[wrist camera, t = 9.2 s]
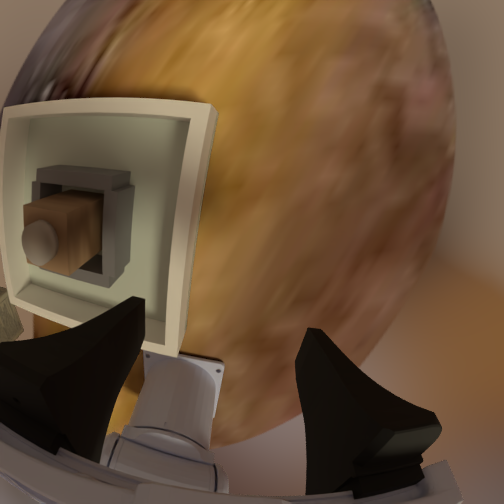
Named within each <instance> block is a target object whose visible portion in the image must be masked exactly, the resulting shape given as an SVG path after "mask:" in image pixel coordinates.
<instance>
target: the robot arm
mask: <svg viewBox="0 0 504 504" xmlns="http://www.w3.org/2000/svg"><path fill="white" fill-rule="evenodd" d="M144 338H145V299H144V298H140V297H136V296H131V297H130V298H128V299H126V300H124V301H123V302H121V303H119V304H118V305H116V306H114V307H113V308H111V309H109V310H107V311H106V312H104V313H102V314H100V315H98V316H96V317H95V318H93V319H91V320H89V321H87V322H85V323H83V324H80V325H78V326H76V327H73V328H71V329H68V330H65V331H62V332H59V333H55V334H52V335H48V336H45V337H40V338H35V339H29V340H22V341H7V342H1V343H0V476H1V477H2V478H4V479H5V480H6V481H8V482H9V483H10V484H12V485H13V486H15V487H16V488H17V489H19V490H20V491H22V492H23V493H25V494H26V495H28V496H29V497H31V498H33V499H34V500H36V501H37V502H39V503H41V504H460V503H462V502H463V500H464V499H463V497H462V494H461V492H460V490H459V487H458V485H457V482H456V480H455V478H454V475H453V473H452V471H451V469H450V466H449V464H448V462H447V460H443V461H441V462H437V463H435V464H432V465H429V466H427V467H425V468H423V469H421V466H420V464H421V463H422V462H423V458H422V456H421V454H422V453H423V452H424V451H425V450H426V449H428V448H429V447H430V446H431V445H432V444H433V443H434V442H435V441H436V439H437V438H438V437H439V435H440V434H441V431H442V426H441V424H440V422H439V420H438V419H437V417H436V415H435V413H434V412H432V411H429V410H426V409H424V408H421V407H418V406H416V405H413V404H411V403H409V402H407V401H405V400H403V399H401V398H400V397H397V396H395V395H394V394H392V393H391V392H389V391H388V390H386V389H385V388H383V387H382V386H380V385H379V384H377V383H376V382H375V381H373V380H372V379H371V378H370V377H368V376H367V375H366V374H365V373H363V372H362V371H361V370H360V369H359V368H358V367H357V366H356V365H355V364H354V363H353V362H352V361H351V360H350V359H349V358H348V357H347V356H346V355H345V354H344V353H343V352H342V351H341V350H340V349H339V348H338V347H337V346H336V345H335V344H334V343H333V341H332V340H331V339H330V338H329V337H328V336H327V335H326V334H325V333H324V332H323V331H322V330H321V329H316V328H307V331H306V334H305V337H304V339H303V342H302V344H301V347H300V350H299V352H298V355H297V357H296V360H295V372H296V382H297V388H298V393H299V398H300V402H301V407H302V412H303V417H304V423H305V433H306V455H307V470H306V493H305V494H306V495H305V496H256V495H238V494H228V491H229V484H228V476H227V474H226V472H225V471H224V469H223V467H222V466H221V465H220V464H216V463H214V452H211V451H209V445H210V436H211V427H212V419H213V418H214V417H215V412H216V407H217V402H218V397H219V392H220V387H221V382H222V377H223V372H224V366H225V365H224V363H223V362H220V361H214V360H209V359H203V358H198V357H193V356H188V355H183V354H178V356H177V358H176V357H172V356H167V355H163V354H159V353H154V352H150V351H146V350H143V359H144V375H145V382H144V384H143V387H142V389H141V392H140V394H139V397H138V400H137V402H136V405H135V408H134V410H133V413H132V416H131V419H130V421H129V424H128V425H125V426H124V429H123V432H122V434H121V437H120V434H119V433H117V432H112V433H111V434H108V435H106V432H107V428H108V425H109V421H110V418H111V415H112V411H113V408H114V405H115V403H116V400H117V397H118V394H119V392H120V390H121V388H122V386H123V384H124V382H125V380H126V378H127V376H128V374H129V372H130V370H131V368H132V366H133V364H134V362H135V360H136V358H137V356H138V354H139V352H140V349H141V347H142V344H143V341H144ZM147 354H148V355H147ZM149 355H150V356H149ZM217 369H220V370H217Z"/></svg>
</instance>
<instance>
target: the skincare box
mask: <svg viewBox="0 0 504 504" xmlns="http://www.w3.org/2000/svg"><path fill="white" fill-rule="evenodd" d="M23 331H24V329H23V327H22V324H21V321H20V319H19V316H18V313H17V311H16V308H15V305H13V304H11V303H10V300H9V296H8V291H7V289H6V288H3V287H0V343H1V342H7V341H15V340H16V339H17V338H18V337H19V335H20V334H21V333H22V332H23Z"/></svg>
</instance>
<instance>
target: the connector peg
mask: <svg viewBox="0 0 504 504" xmlns="http://www.w3.org/2000/svg"><path fill="white" fill-rule="evenodd" d="M103 206H104V194H102V193H95V192H88V191H81V190H74V189H70V190H67V191H63V192H60V193H57V194H54V195H51V196H48V197H45V198H42V199H39V200H36V201H33V202H30V203H28V204H25V205H23V220H24V230H23V232H22V247H23V250H24V253H25V255H26V259H27V263H29V264H32V265H35V266H38V267H41V268H44V269H47V270H51V271H54V272H57V273H60V274H64V275H67V276H70V275H71V274H72V273H73V272H75V271H76V270H77V269H78V268H80V267H81V266H82V265H83V264H84V263H86V262H87V261H88V260H89V259H91V258H92V257H93V256H95V255H96V254H97V253H98V252H100V251H101V250H102V230H103Z"/></svg>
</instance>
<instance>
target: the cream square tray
mask: <svg viewBox="0 0 504 504" xmlns="http://www.w3.org/2000/svg"><path fill="white" fill-rule="evenodd" d="M218 115H219V113H218V112H217V110H216V109H215V108H214V107H213V106H212V104H207V103H199V102H189V101H179V100H167V99H151V98H80V99H64V100H53V101H44V102H35V103H28V104H21V105H15V106H10V107H4V110H3V116H2V123H1V130H0V250H1V256H2V264H3V270H4V276H5V280H6V286H7V291H8V296H9V300H10V303H11V304H13V305H16V306H18V307H20V308H22V309H25V310H27V311H29V312H32V313H34V314H36V315H39V316H41V317H44V318H46V319H49V320H51V321H54V322H57V323H59V324H62V325H65V326H68V327H70V328H73V327H76V326H78V325H80V324H83V323H85V322H87V321H89V320H91V319H93V318H95V317H96V316H98V315H100V314H102V313H104V312H106V311H107V310H109V309H111V308H113V307H114V306H116V305H118V304H119V303H121V302H123V301H124V300H126V299H128V298H130V297H131V296H136V297H140V298H144V299H145V338H144V341H143V344H142V347H141V349H142V350H146V351H150V352H154V353H159V354H163V355H167V356H172V357H176V358H177V356H178V353H179V350H180V347H181V344H182V340H183V337H184V334H185V331H186V326H187V316H188V306H189V297H190V288H191V279H192V271H193V263H194V255H195V248H196V240H197V233H198V226H199V220H200V213H201V207H202V201H203V194H204V188H205V183H206V177H207V171H208V166H209V160H210V155H211V150H212V144H213V139H214V134H215V129H216V124H217V120H218ZM70 189H74V190H81V191H88V192H95V193H102V194H104V206H103V230H102V250H101V251H100V252H98V253H97V254H96V255H95V256H93V257H92V258H91V259H89V260H88V261H87V262H86V263H84V264H83V265H82V266H81V267H80V268H78V269H77V270H76V271H75V272H73V273H72V274H71V275H70V276H67V275H64V274H60V273H57V272H54V271H51V270H47V269H44V268H41V267H38V266H35V265H32V264H29V263H27V259H26V255H25V253H24V250H23V247H22V232H23V230H24V220H23V205H25V204H28V203H30V202H33V201H36V200H39V199H42V198H45V197H48V196H51V195H54V194H57V193H60V192H63V191H67V190H70Z"/></svg>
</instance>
